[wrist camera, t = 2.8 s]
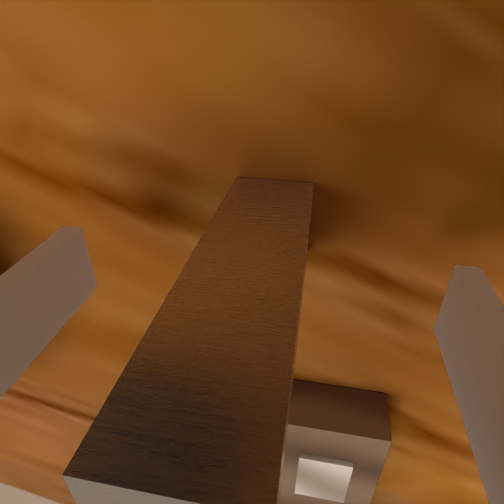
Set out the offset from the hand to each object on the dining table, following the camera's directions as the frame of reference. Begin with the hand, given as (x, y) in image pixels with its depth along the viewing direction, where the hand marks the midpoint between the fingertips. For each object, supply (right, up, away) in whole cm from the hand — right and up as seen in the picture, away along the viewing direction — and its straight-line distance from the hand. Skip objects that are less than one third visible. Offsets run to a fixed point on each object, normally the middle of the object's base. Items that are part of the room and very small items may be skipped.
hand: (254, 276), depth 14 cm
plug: (+1, +3, +4) cm, 5 cm away
